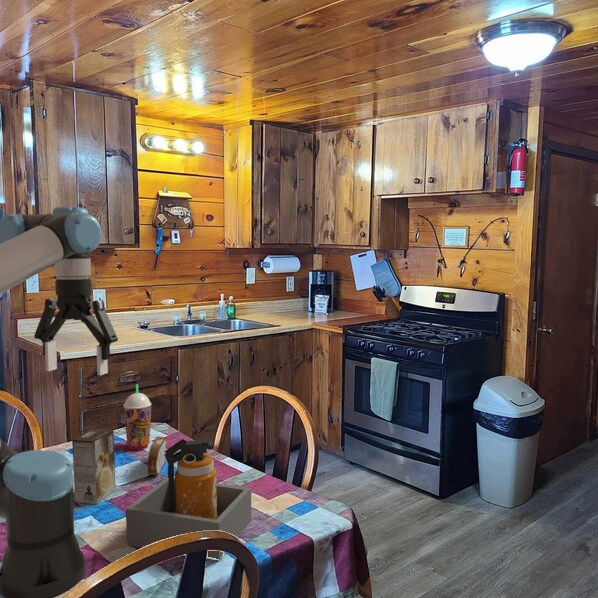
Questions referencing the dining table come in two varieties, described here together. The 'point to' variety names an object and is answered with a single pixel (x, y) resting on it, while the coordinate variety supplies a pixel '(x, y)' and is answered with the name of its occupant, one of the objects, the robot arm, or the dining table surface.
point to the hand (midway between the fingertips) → (76, 372)
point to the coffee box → (94, 465)
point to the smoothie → (137, 420)
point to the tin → (156, 456)
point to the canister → (192, 479)
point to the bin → (185, 516)
